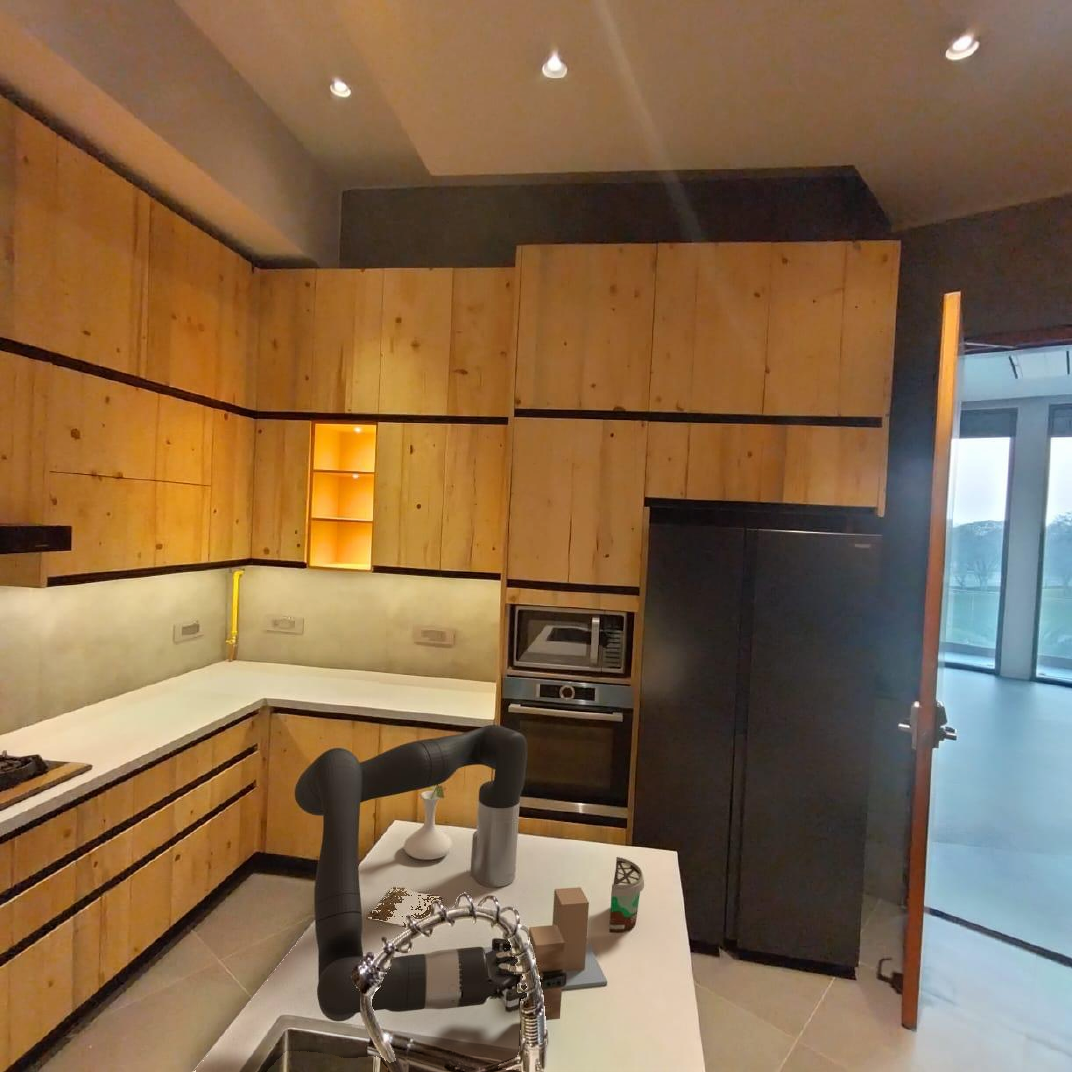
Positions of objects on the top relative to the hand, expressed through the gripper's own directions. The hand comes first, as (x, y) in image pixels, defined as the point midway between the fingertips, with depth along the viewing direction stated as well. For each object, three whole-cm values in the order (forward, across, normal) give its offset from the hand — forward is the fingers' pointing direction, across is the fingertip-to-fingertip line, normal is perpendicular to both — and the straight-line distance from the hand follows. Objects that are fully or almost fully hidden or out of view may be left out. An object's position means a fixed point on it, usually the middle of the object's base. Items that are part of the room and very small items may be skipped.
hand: (560, 966), depth 104 cm
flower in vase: (-16, -56, -9) cm, 59 cm away
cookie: (-22, -34, -10) cm, 42 cm away
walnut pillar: (-3, 0, -7) cm, 7 cm away
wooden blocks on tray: (+1, -13, -9) cm, 16 cm away
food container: (+21, -24, -9) cm, 33 cm away
